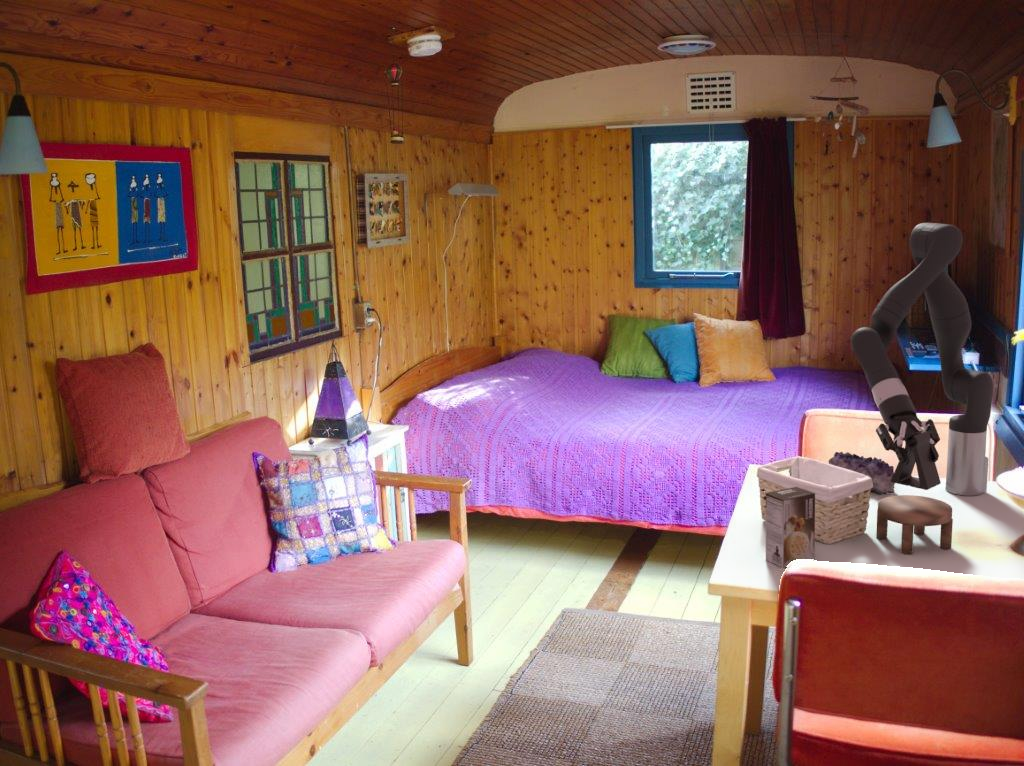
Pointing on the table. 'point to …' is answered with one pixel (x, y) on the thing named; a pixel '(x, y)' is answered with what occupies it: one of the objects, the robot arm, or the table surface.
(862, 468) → the geode
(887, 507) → the stool
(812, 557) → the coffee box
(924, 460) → the phone stand
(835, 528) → the storage basket
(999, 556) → the table surface
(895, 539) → the table surface
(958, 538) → the table surface
